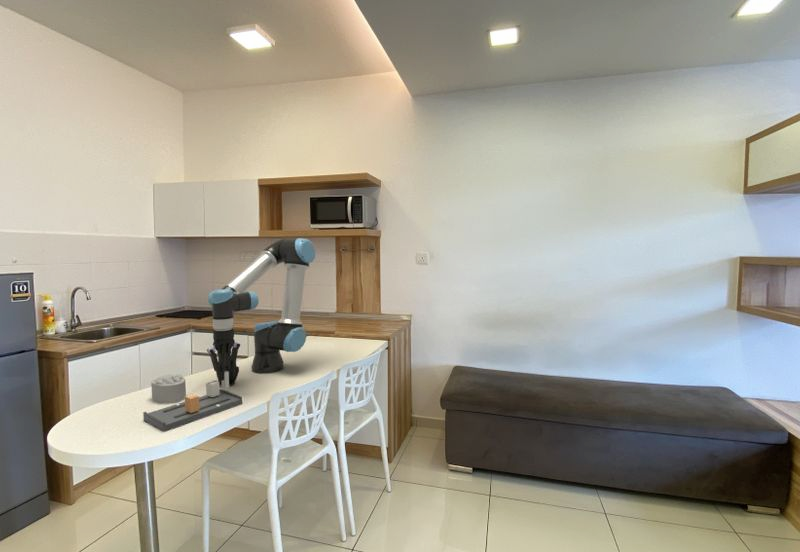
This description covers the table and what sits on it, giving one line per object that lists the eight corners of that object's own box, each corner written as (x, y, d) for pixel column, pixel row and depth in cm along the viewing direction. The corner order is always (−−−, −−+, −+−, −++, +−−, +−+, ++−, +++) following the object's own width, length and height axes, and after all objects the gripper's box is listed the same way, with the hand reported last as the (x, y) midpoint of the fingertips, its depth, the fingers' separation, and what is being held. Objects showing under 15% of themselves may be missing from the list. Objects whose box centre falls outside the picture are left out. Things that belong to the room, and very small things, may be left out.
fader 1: (193, 407, 141) (193, 393, 140) (199, 410, 138) (199, 395, 138) (184, 410, 138) (184, 395, 138) (190, 413, 136) (190, 398, 136)
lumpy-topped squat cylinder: (175, 391, 164) (174, 370, 164) (192, 397, 157) (191, 376, 157) (148, 399, 155) (147, 377, 155) (165, 406, 148) (164, 383, 148)
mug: (229, 390, 165) (228, 368, 164) (212, 385, 171) (211, 363, 170) (246, 384, 171) (245, 363, 171) (229, 379, 178) (228, 359, 177)
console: (220, 395, 159) (220, 388, 159) (242, 403, 150) (241, 396, 150) (143, 420, 136) (143, 412, 136) (163, 431, 128) (163, 423, 127)
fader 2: (214, 392, 155) (213, 379, 155) (219, 394, 153) (219, 381, 152) (206, 395, 153) (205, 381, 152) (211, 397, 150) (211, 383, 150)
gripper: (233, 325, 163) (235, 381, 164) (202, 330, 152) (204, 390, 154) (243, 327, 158) (245, 384, 160) (212, 332, 148) (214, 394, 149)
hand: (225, 387), depth 157 cm, fingers closed
